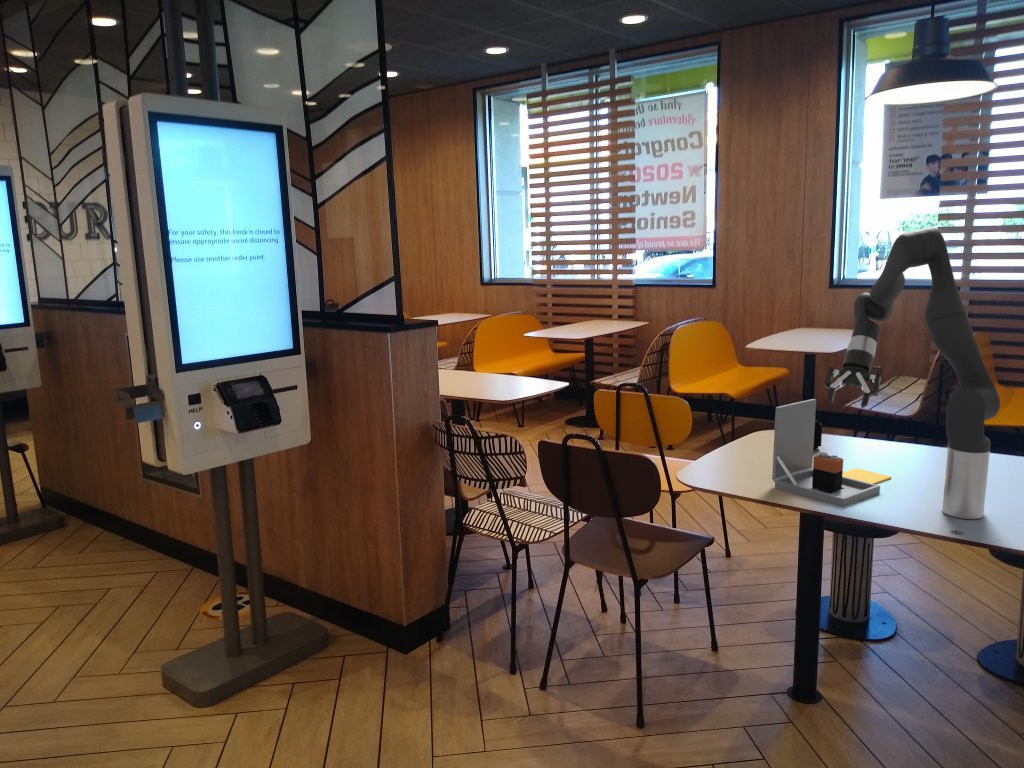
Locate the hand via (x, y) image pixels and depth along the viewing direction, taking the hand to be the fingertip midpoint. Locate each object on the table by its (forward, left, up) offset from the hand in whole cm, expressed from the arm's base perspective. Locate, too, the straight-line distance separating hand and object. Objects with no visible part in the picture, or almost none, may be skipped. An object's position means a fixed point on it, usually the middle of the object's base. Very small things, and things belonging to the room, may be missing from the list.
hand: (846, 404), depth 224 cm
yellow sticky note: (-10, +1, -23) cm, 26 cm away
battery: (+9, +1, -23) cm, 25 cm away
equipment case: (+9, +1, -23) cm, 25 cm away
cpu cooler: (-26, -29, -24) cm, 46 cm away
